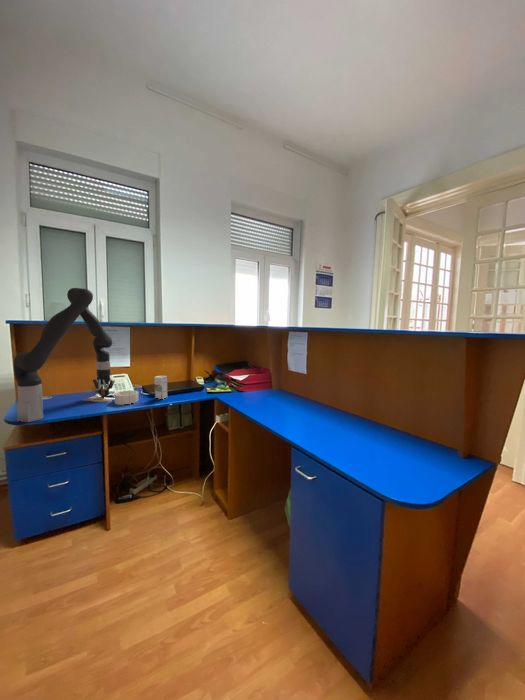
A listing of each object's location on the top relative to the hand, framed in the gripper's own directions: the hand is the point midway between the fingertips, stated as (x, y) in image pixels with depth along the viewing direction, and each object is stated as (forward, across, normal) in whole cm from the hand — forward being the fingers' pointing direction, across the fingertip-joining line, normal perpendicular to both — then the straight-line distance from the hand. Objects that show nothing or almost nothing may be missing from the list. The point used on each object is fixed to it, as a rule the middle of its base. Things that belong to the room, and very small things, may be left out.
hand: (104, 395), depth 184 cm
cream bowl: (+2, +18, -4) cm, 19 cm away
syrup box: (+2, +34, +8) cm, 35 cm away
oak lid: (+2, 0, 0) cm, 2 cm away
